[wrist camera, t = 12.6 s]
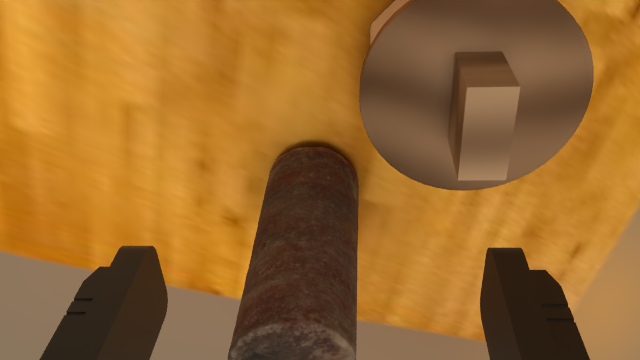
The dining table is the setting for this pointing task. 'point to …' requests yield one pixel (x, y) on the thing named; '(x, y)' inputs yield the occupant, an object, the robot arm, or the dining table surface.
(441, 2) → the lid
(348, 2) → the dining table surface
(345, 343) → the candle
